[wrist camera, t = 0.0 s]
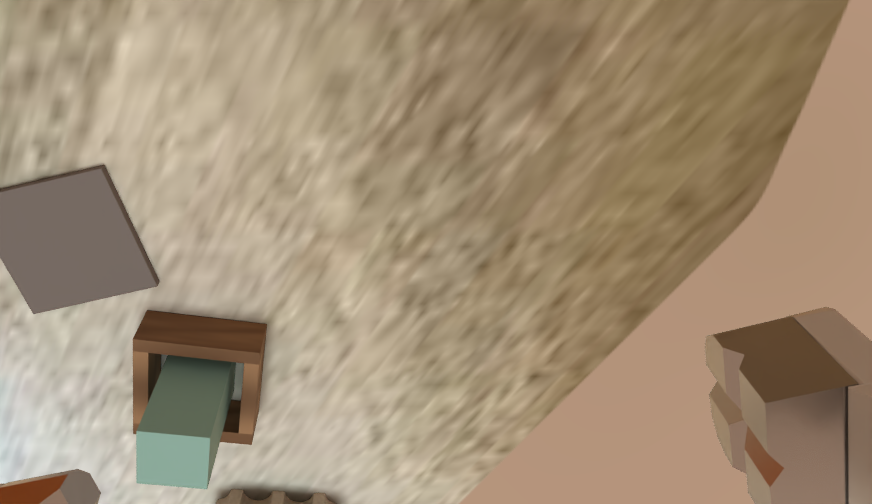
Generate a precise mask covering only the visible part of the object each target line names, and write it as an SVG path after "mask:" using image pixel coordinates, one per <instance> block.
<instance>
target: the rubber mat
mask: <svg viewBox="0 0 872 504" xmlns="http://www.w3.org/2000/svg"><path fill="white" fill-rule="evenodd" d="M0 258H1V259H2V261H3V263H4V265H5V266H6V268H7V270H8V271H9V273H10V275H11V277H12V278H13V280H14V282H15V283H16V285H17V287H18V289H19V290H20V292H21V294H22V295H23V297H24V299H25V300H26V302H27V304H28V306H29V307H30V309H31V311H32V312H33V314H36V313H41V312H45V311H50V310H54V309H59V308H63V307H68V306H72V305H76V304H81V303H85V302H90V301H94V300H99V299H103V298H108V297H112V296H116V295H121V294H125V293H130V292H134V291H139V290H143V289H148V288H152V287H156V286H158V284H159V280H158V278H157V276H156V274H155V272H154V269H153V267H152V265H151V263H150V261H149V259H148V257H147V255H146V252H145V250H144V248H143V246H142V244H141V242H140V240H139V238H138V236H137V233H136V231H135V229H134V227H133V225H132V223H131V221H130V219H129V216H128V214H127V212H126V210H125V208H124V206H123V204H122V202H121V200H120V197H119V195H118V193H117V191H116V189H115V187H114V185H113V183H112V181H111V178H110V176H109V174H108V172H107V170H106V168H105V166H104V165H102V166H98V167H94V168H89V169H85V170H81V171H76V172H72V173H68V174H64V175H59V176H55V177H51V178H47V179H42V180H38V181H34V182H30V183H25V184H21V185H17V186H13V187H8V188H4V189H0Z"/></svg>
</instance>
